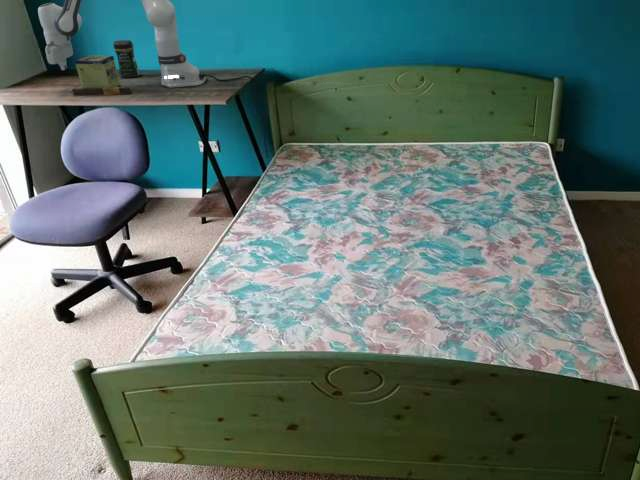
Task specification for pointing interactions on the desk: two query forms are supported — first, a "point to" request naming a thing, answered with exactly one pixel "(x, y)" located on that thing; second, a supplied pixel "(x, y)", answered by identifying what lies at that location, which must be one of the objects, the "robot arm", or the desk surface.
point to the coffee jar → (126, 58)
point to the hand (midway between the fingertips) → (64, 69)
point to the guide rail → (102, 91)
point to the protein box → (97, 72)
